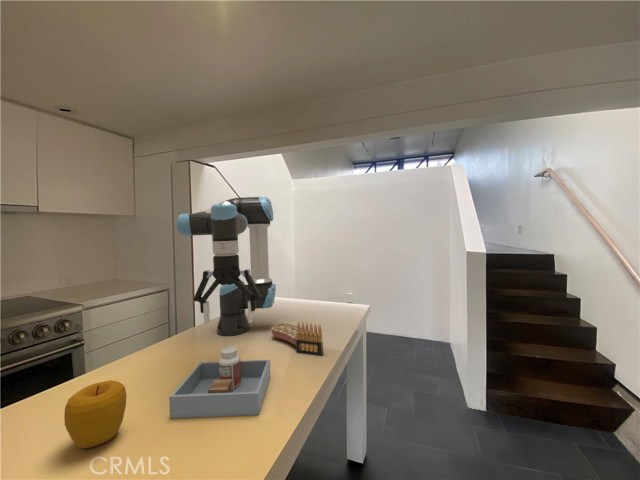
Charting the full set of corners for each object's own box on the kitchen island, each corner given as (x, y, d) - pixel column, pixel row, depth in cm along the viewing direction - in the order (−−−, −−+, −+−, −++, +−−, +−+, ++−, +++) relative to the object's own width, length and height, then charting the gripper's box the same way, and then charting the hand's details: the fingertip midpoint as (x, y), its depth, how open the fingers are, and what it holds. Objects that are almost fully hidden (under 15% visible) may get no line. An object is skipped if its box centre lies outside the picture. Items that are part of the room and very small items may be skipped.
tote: (200, 379, 88) (200, 362, 87) (270, 376, 88) (269, 359, 88) (170, 418, 69) (169, 396, 69) (258, 414, 69) (258, 393, 69)
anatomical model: (267, 338, 121) (267, 327, 121) (285, 332, 128) (284, 321, 128) (301, 353, 105) (300, 340, 105) (319, 345, 112) (318, 333, 112)
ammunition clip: (323, 354, 104) (322, 323, 103) (322, 356, 102) (321, 324, 102) (298, 350, 107) (297, 320, 107) (296, 352, 105) (295, 322, 105)
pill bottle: (237, 377, 87) (236, 343, 86) (243, 386, 82) (242, 350, 81) (217, 383, 83) (216, 348, 83) (222, 393, 78) (221, 355, 78)
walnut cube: (215, 397, 76) (214, 379, 76) (233, 396, 77) (232, 379, 76) (208, 408, 71) (207, 390, 71) (227, 407, 72) (226, 389, 71)
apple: (76, 469, 54) (73, 406, 54) (58, 447, 60) (55, 390, 60) (136, 434, 64) (134, 380, 63) (116, 418, 69) (114, 369, 69)
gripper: (179, 257, 79) (182, 327, 80) (264, 254, 80) (266, 325, 81) (190, 254, 87) (194, 319, 88) (268, 252, 87) (270, 316, 88)
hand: (229, 322), depth 84 cm, fingers open, 13 cm apart
